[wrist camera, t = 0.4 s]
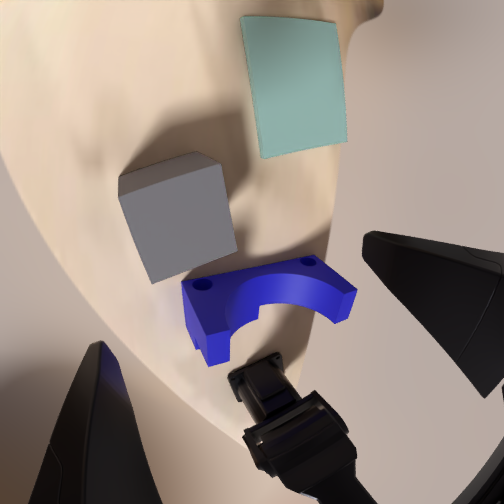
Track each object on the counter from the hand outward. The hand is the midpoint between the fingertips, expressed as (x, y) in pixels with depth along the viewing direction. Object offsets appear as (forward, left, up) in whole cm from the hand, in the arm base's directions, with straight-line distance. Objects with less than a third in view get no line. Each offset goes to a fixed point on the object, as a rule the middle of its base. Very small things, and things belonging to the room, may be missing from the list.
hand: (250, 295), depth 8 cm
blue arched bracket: (-10, -4, -11) cm, 16 cm away
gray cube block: (0, +1, -11) cm, 11 cm away
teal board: (+6, -10, -11) cm, 16 cm away
